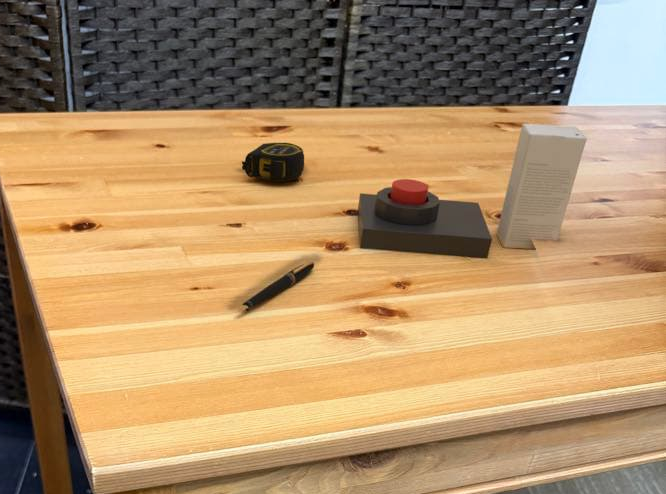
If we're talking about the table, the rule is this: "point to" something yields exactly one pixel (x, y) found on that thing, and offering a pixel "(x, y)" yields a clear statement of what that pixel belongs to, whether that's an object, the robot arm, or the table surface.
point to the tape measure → (275, 162)
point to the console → (422, 226)
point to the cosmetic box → (540, 184)
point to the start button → (409, 192)
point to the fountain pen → (278, 285)
